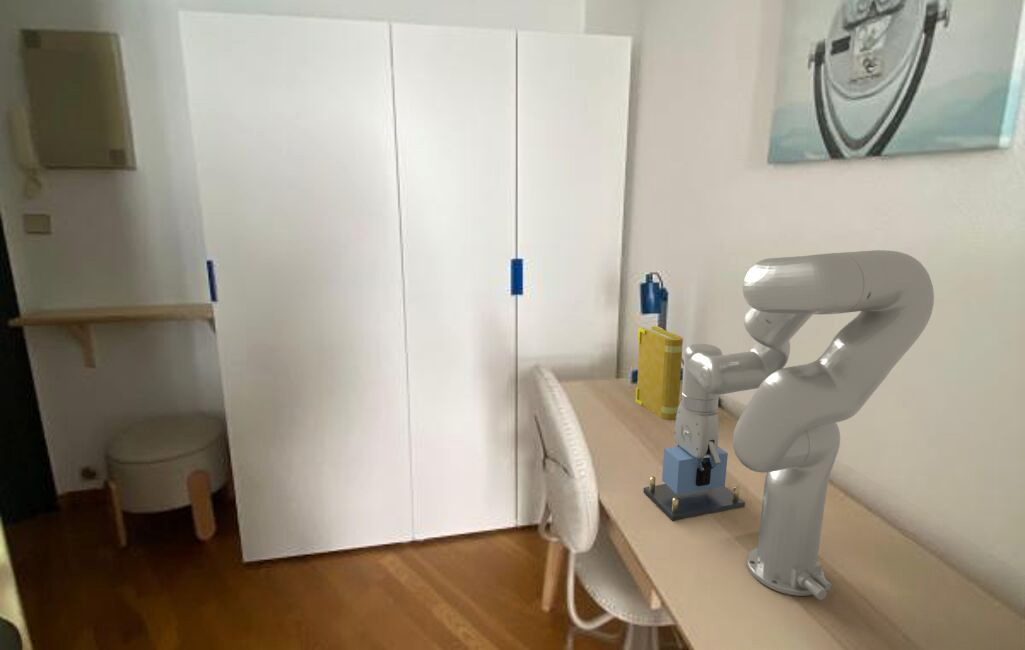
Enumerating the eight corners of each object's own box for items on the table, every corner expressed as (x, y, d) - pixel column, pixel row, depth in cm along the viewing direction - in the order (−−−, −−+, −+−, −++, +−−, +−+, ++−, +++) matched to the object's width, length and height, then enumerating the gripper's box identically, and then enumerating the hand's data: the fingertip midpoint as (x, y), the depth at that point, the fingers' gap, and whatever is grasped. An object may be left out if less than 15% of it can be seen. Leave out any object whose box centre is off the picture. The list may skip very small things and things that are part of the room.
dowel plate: (744, 506, 120) (746, 489, 119) (672, 521, 115) (673, 503, 114) (710, 480, 131) (712, 464, 130) (643, 492, 126) (644, 475, 125)
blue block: (676, 494, 118) (679, 460, 116) (662, 480, 124) (664, 448, 122) (724, 486, 121) (727, 453, 119) (708, 472, 127) (711, 441, 125)
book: (635, 401, 181) (638, 328, 175) (653, 398, 183) (656, 326, 177) (663, 420, 166) (668, 341, 160) (682, 417, 167) (688, 338, 162)
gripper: (662, 389, 125) (658, 461, 129) (709, 419, 109) (702, 500, 113) (691, 386, 127) (685, 457, 131) (741, 415, 111) (733, 494, 115)
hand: (693, 476), depth 122 cm, fingers closed on blue block, 6 cm apart
